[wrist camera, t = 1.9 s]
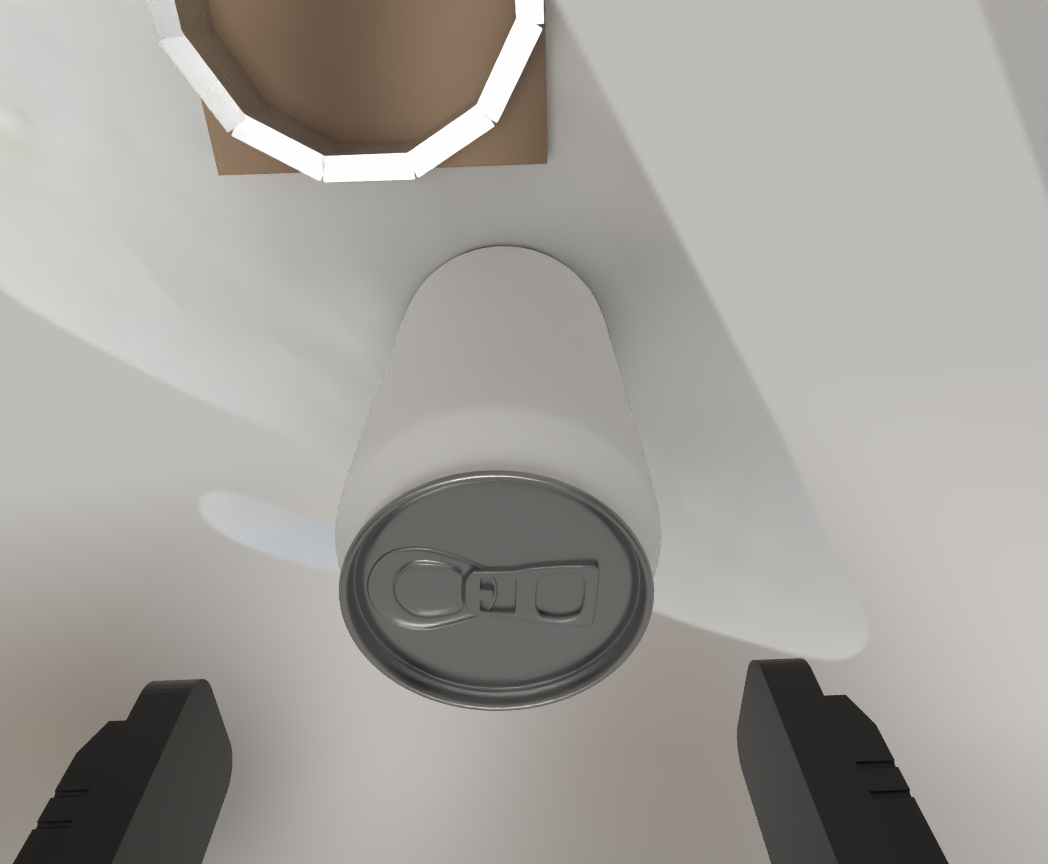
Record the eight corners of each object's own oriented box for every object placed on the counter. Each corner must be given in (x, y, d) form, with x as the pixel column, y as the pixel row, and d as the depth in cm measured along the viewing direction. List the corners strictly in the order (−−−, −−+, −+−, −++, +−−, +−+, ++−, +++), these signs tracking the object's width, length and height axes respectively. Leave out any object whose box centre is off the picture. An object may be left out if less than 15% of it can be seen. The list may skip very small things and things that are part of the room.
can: (397, 237, 22) (291, 445, 11) (615, 244, 22) (706, 456, 12) (407, 427, 25) (331, 724, 15) (596, 432, 25) (655, 729, 15)
